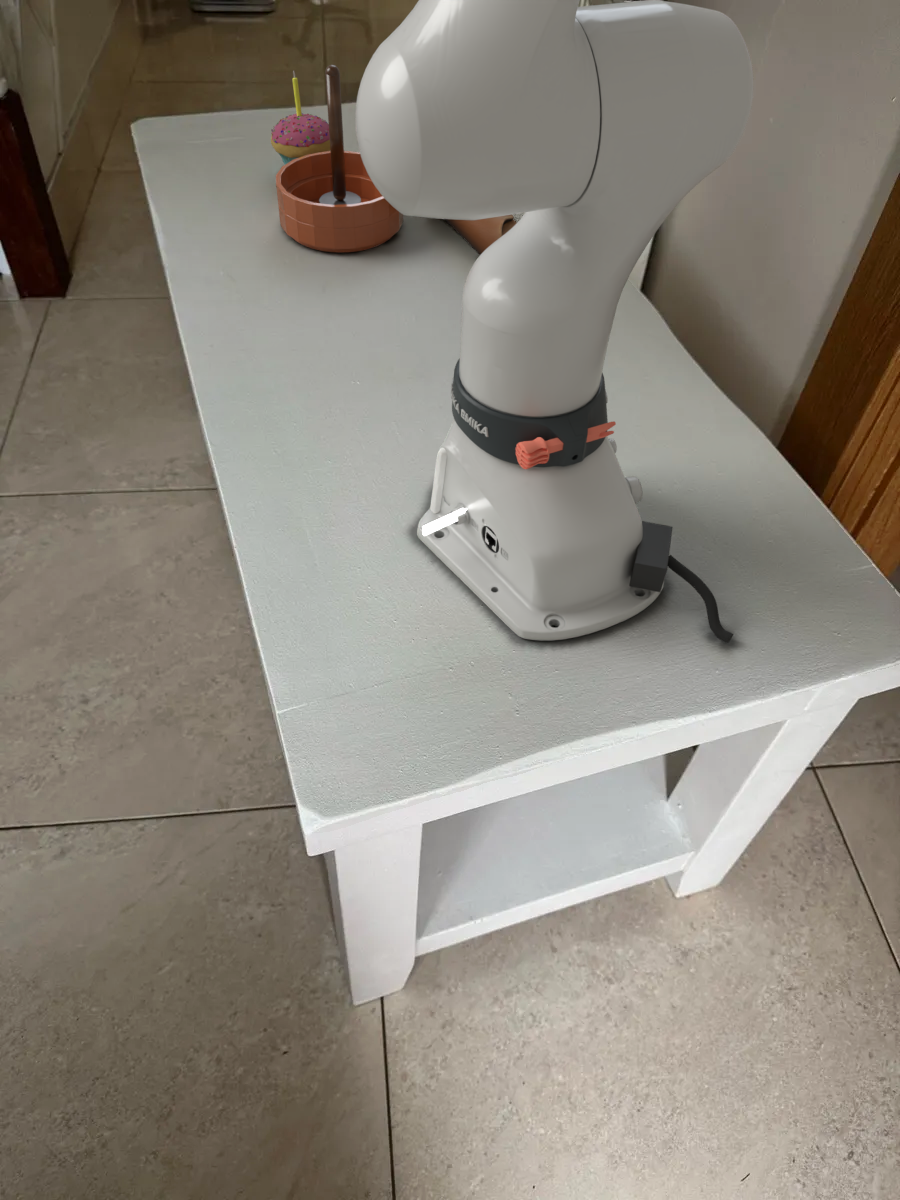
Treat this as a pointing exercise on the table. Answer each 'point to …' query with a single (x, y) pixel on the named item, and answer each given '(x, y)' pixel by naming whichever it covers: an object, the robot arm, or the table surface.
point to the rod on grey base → (336, 143)
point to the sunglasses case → (482, 230)
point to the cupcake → (300, 133)
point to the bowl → (333, 206)
